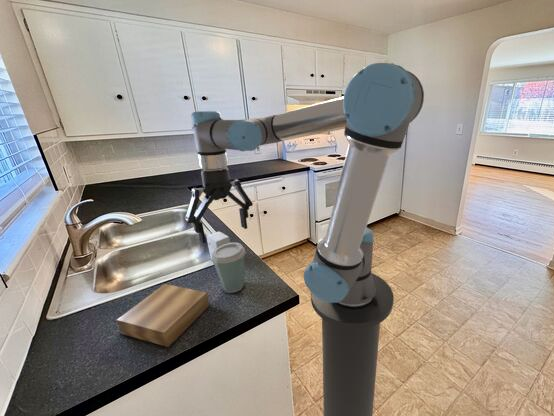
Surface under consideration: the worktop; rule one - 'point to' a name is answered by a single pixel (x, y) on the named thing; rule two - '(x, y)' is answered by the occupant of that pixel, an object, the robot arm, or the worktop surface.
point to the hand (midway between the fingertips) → (224, 234)
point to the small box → (216, 241)
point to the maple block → (164, 314)
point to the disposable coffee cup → (230, 266)
